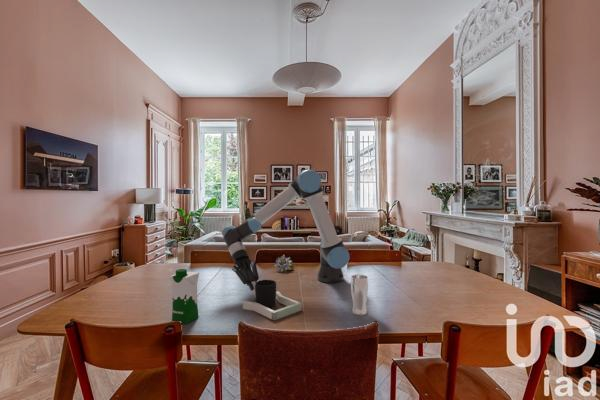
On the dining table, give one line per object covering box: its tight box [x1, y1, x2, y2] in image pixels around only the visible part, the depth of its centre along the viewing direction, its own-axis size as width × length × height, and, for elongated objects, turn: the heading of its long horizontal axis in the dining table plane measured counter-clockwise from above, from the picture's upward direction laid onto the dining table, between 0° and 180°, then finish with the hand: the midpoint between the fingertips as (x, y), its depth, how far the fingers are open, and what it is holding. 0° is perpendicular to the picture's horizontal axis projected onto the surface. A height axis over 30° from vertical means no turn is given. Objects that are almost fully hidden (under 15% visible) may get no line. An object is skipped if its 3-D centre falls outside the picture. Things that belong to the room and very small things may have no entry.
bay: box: [242, 290, 303, 321], centre depth 126 cm, size 19×20×3 cm
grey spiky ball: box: [273, 254, 295, 273], centre depth 191 cm, size 11×11×12 cm
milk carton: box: [169, 268, 200, 325], centre depth 115 cm, size 9×9×20 cm
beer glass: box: [350, 274, 369, 317], centre depth 121 cm, size 7×7×15 cm
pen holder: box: [254, 279, 277, 309], centre depth 130 cm, size 9×9×10 cm
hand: (257, 295), depth 133 cm, fingers closed
